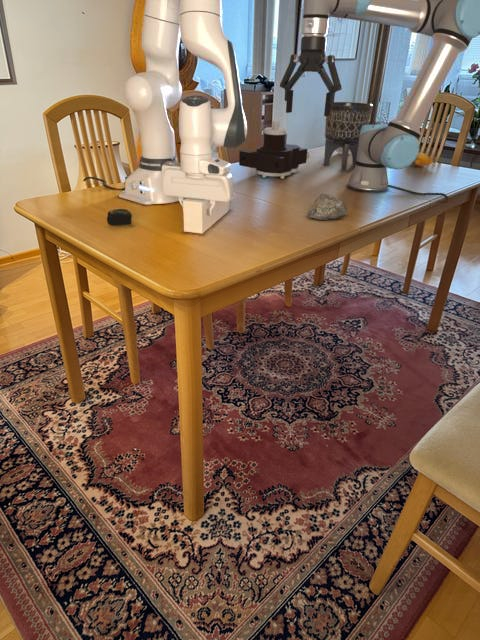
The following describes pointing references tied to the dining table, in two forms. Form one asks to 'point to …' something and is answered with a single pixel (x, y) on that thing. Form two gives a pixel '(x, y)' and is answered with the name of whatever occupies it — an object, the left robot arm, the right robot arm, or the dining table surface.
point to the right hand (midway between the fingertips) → (307, 114)
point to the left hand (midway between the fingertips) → (198, 213)
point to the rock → (327, 208)
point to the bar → (201, 214)
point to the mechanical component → (274, 154)
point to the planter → (345, 129)
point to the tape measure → (119, 217)
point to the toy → (422, 160)
